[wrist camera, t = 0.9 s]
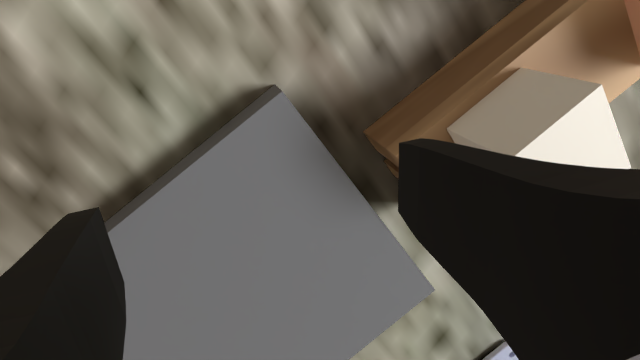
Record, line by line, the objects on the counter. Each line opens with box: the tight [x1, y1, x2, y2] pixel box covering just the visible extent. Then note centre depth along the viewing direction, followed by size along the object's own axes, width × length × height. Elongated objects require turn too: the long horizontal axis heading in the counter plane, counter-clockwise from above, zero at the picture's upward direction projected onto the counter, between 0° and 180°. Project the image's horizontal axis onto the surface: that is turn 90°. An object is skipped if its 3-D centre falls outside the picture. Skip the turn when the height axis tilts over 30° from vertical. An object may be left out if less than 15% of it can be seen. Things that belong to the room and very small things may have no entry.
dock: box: [104, 85, 435, 360], centre depth 23 cm, size 14×22×2 cm, turn 125°
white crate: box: [447, 68, 631, 169], centre depth 18 cm, size 4×4×4 cm
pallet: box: [363, 0, 640, 179], centre depth 22 cm, size 5×18×4 cm, turn 125°
